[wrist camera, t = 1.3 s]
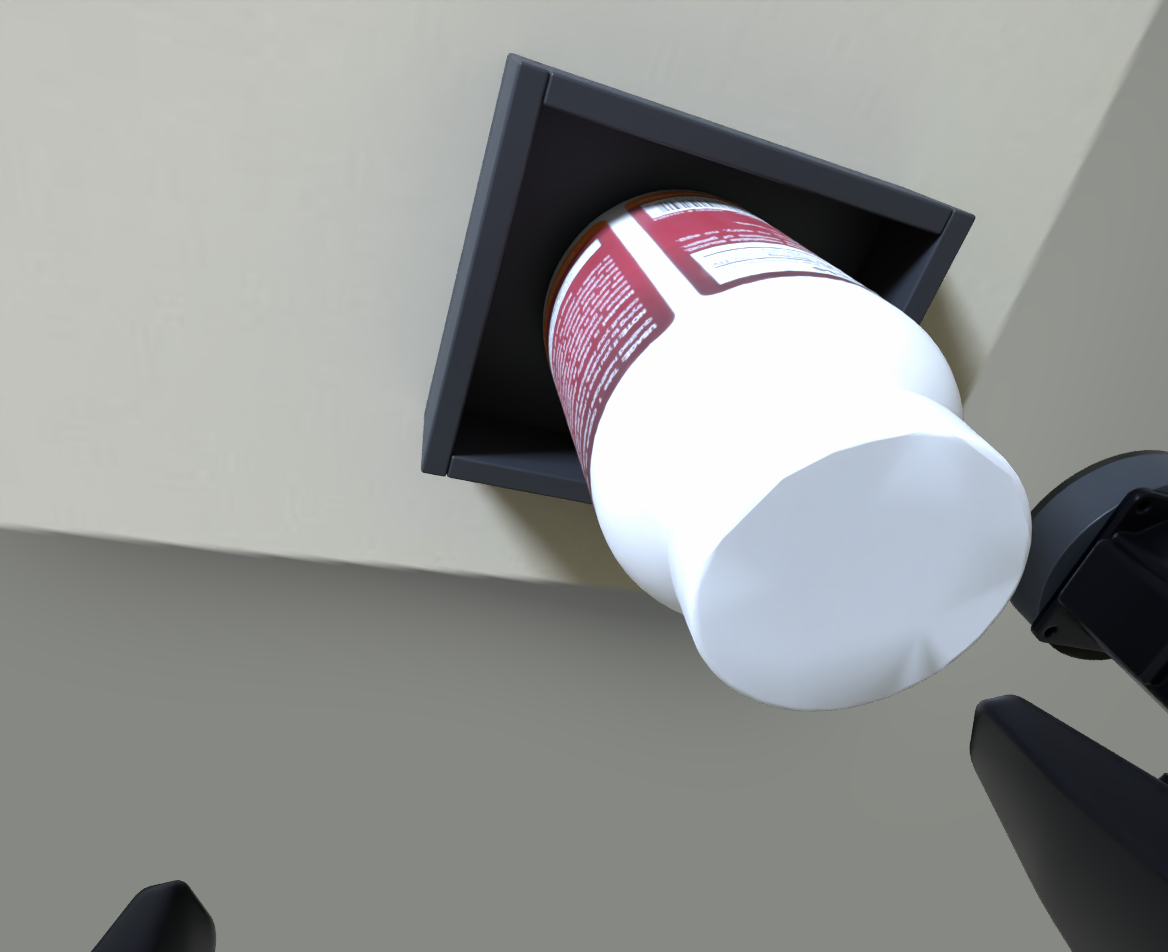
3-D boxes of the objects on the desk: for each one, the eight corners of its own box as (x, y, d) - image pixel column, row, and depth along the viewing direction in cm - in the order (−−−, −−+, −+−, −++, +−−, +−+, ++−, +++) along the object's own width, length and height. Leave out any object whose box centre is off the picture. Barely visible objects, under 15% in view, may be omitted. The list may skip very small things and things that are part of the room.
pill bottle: (621, 464, 22) (751, 811, 12) (489, 282, 19) (528, 559, 9) (821, 340, 21) (1130, 615, 11) (717, 126, 18) (1021, 259, 8)
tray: (906, 188, 20) (977, 216, 17) (765, 485, 23) (805, 545, 21) (508, 52, 17) (518, 60, 14) (424, 414, 21) (420, 473, 18)
